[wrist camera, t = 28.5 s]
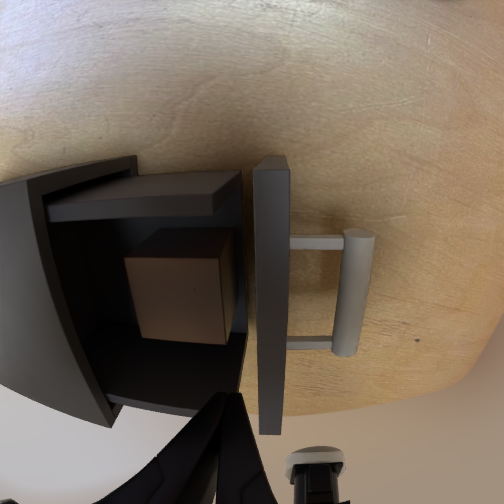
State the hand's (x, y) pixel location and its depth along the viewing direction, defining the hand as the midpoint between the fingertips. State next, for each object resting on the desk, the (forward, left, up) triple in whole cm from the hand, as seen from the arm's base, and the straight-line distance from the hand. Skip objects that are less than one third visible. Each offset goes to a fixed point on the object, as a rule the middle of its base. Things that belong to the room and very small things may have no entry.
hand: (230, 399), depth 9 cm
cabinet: (0, +17, -13) cm, 21 cm away
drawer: (0, +4, -12) cm, 12 cm away
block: (0, +4, -11) cm, 11 cm away
